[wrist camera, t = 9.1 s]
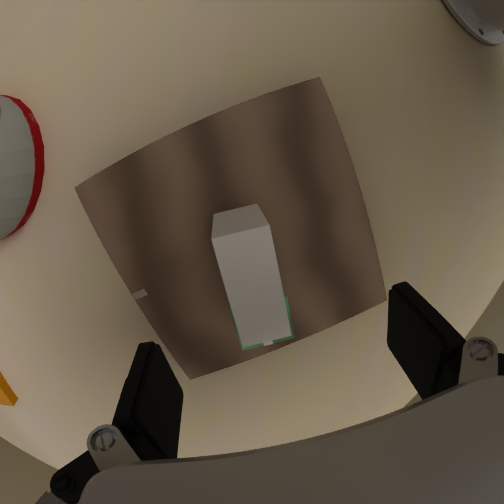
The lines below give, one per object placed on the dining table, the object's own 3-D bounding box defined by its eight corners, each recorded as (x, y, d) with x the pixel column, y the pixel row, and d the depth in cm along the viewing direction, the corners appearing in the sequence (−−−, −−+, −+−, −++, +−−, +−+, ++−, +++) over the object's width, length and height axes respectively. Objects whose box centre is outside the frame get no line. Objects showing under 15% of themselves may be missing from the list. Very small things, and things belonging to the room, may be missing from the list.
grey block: (214, 210, 22) (211, 238, 15) (255, 200, 22) (269, 224, 15) (250, 343, 26) (259, 399, 20) (284, 335, 26) (301, 389, 20)
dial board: (312, 81, 21) (320, 76, 19) (377, 290, 28) (387, 300, 26) (84, 183, 22) (74, 187, 20) (191, 366, 29) (190, 380, 27)
